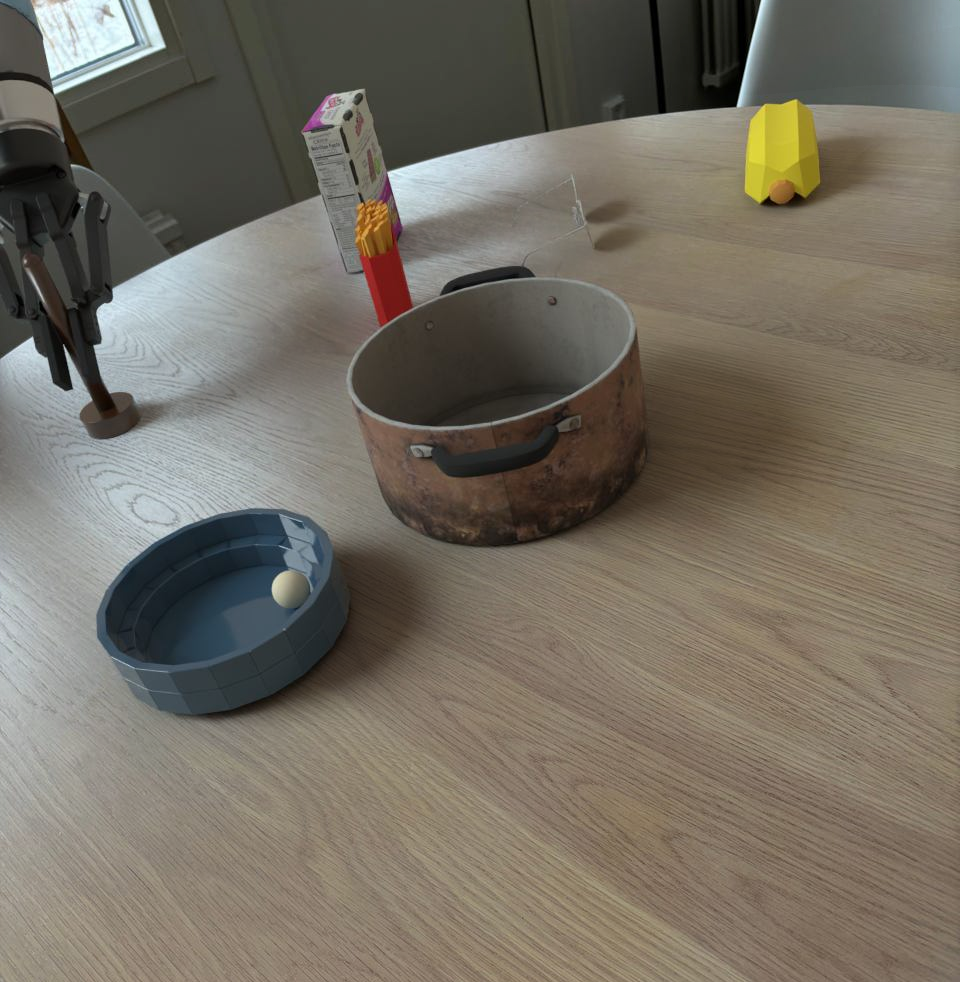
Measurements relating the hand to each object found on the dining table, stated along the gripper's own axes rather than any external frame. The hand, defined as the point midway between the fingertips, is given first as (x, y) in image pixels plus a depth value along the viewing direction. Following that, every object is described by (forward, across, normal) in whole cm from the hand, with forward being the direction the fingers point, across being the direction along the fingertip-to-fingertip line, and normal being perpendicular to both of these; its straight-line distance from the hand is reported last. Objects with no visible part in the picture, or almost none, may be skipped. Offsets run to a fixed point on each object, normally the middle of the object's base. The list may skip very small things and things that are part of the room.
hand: (77, 382), depth 99 cm
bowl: (+29, -15, +19) cm, 38 cm away
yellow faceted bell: (-10, -75, -20) cm, 78 cm away
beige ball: (+27, -20, +20) cm, 39 cm away
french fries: (-2, -30, -12) cm, 33 cm away
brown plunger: (+2, 0, -8) cm, 8 cm away
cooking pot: (+20, -38, +10) cm, 44 cm away
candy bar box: (-16, -29, -26) cm, 43 cm away
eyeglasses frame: (-10, -49, -20) cm, 54 cm away
